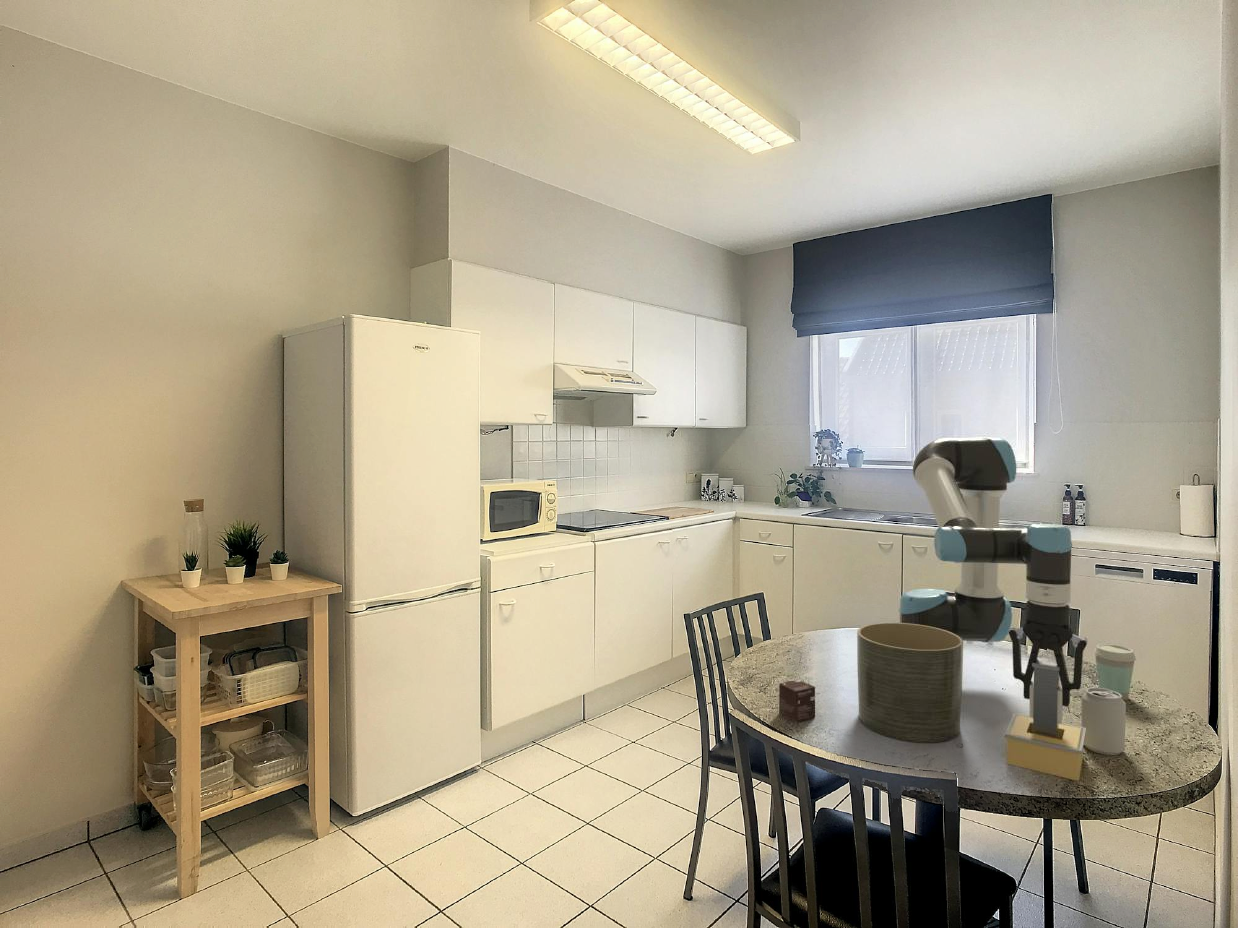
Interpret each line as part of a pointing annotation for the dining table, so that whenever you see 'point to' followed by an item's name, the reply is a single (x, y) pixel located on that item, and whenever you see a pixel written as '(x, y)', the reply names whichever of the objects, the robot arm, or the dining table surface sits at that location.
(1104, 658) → the coffee cup
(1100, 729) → the can
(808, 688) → the box
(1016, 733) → the tan hollow block
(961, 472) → the robot arm
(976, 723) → the dining table surface
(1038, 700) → the wedge pin
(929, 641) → the planter
